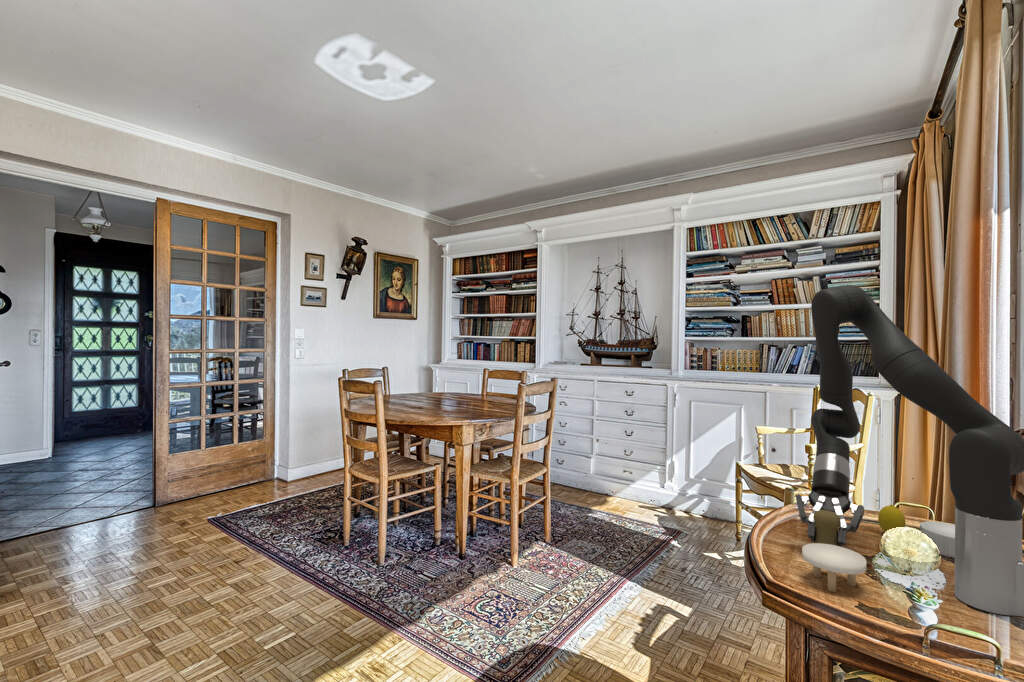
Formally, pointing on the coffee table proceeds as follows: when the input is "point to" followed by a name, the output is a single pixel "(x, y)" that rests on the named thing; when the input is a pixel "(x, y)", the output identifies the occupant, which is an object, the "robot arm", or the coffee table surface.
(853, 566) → the stool
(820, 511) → the cork
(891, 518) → the lemon
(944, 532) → the ramekin
